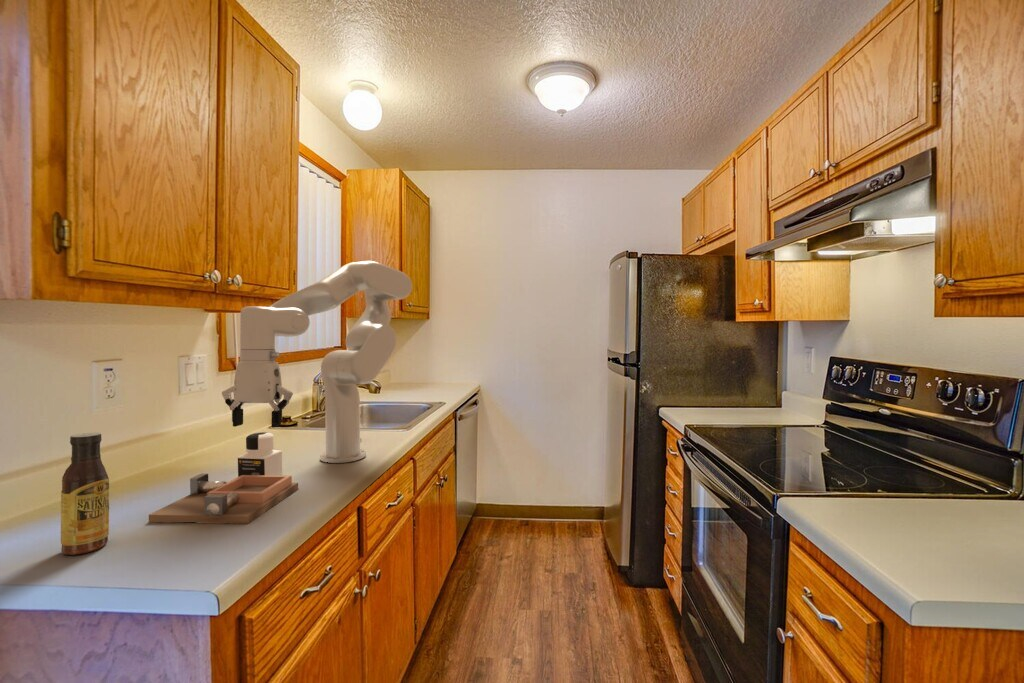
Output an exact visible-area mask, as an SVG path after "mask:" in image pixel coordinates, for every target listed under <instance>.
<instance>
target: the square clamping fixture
mask: <svg viewBox="0 0 1024 683" xmlns="http://www.w3.org/2000/svg"><path fill="white" fill-rule="evenodd" d="M292 480H293V479H292V475H282V476H280V475H241V476H239V477H238V476H237V477H235V478H233V479H231V480H230V481H225V480H223V481H221V480H218V481H215V480H214V481H213V480H209V473H199V474H197V475H195V476H192V477H191V478H189V488H190V490H189V491H190V492H189V493H190V494H188V495H186V496H184V497H182V498H180V499H179V500H176V501H173V502H172V503H169V504H168V505H166V506H164V507H162V508H160V509H157V510H155V511H154V512H152V513H149V514H148V523H156V522H201V523H200V524H224V523H230V524H234V523H236V525H237V524H239V525H240V524H241V525H248V524H250V523H251V522H253V521H254V520H255V518H256V519H257V518H258V517H260V516H262V515H263V514H265V513H266V512H267V511H269V510H270V509H272V508H273V507H274V506H276V505H278V504H279V503H280V502H281V500H282V501H283V500H285V499H286V498H287V497H289V496H290V495H292V494H293V493H294V491H295V490H296V491H297V490H298V489H299V483H298V482H292ZM296 491H295V492H296ZM291 493H292V494H291ZM288 495H289V496H288ZM285 497H286V498H285ZM279 501H280V502H279ZM278 502H279V503H278ZM275 504H276V505H275ZM272 506H273V507H272ZM269 508H270V509H269ZM268 509H269V510H268ZM266 510H267V511H266ZM265 511H266V512H265ZM262 513H263V514H262ZM259 515H260V516H259ZM252 520H253V521H252ZM234 525H235V524H234Z"/></svg>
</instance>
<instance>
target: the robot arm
mask: <svg viewBox="0 0 1024 683" xmlns="http://www.w3.org/2000/svg"><path fill="white" fill-rule="evenodd" d="M412 289H413V284H412V280H411V278H410V277H409V275H407V274H406V273H405V272H403V271H400V270H398V269H397V268H393V267H390V266H388V265H386V264H383V263H381V262H377V261H372V260H364V261H356V262H355V261H353V262H349V263H346V264H344V265H342V266H341V267H339V268H338V269H336V270H334V271H333V272H331V273H329V274H328V275H327V276H325V277H324V278H322V279H320V280H319V281H317V282H315V283H313V284H311V285H308V286H305V287H304V288H301V289H299V290H298V291H295V292H293V293H290V294H287V296H284V297H283V298H280V299H279V300H277V301H275V302H274V303H272V304H271V305H269V306H257V305H253V306H251V305H249V306H244V307H243V308H241V310H240V314H239V316H240V320H239V321H240V322H239V324H240V325H239V326H240V327H239V328H240V329H239V331H240V332H239V334H240V340H239V344H240V345H239V348H240V349H239V362H237V364H236V368H235V372H234V381H233V386H231V387H229V388H227V389H224V390H223V391H221V396H222V397H223V400H224V403H225V404H226V405H227V406H228V407H229V410H230V411H231V422H232V427H238V426H242V425H243V424H244V408H242V407H243V406H244V404H269V405H270V407H271V408H272V409H273V410H272V411H271V423H270V424H271V427H272V428H277V427H280V426H281V425H282V422H283V410H284V409H285V408H286V407H287V405H288V404H289V403H290V401H291V399H292V397H293V395H294V393H293V391H291V390H289V389H287V388H285V387H283V386H282V373H281V369H280V365H279V362H278V361H276V358H280V357H281V356H280V352H278V351H276V347H275V346H276V343H275V342H276V341H275V340H276V337H286V338H287V337H290V338H291V337H299V336H301V335H302V334H304V333H306V332H307V331H308V329H309V327H310V323H311V322H310V317H309V316H312V315H317V314H321V313H325V312H328V311H331V310H333V309H336V308H337V307H339V306H340V305H342V304H343V303H344V302H345V301H348V299H350V298H351V297H353V296H355V295H356V294H357V293H359V292H361V291H363V293H364V297H365V309H364V311H363V313H362V314H361V316H360V317H359V318H358V320H357V321H356V322H355V324H354V325H353V326H352V327H351V328H350V330H349V332H348V333H347V335H346V337H345V346H346V348H347V349H348V350H347V349H338V350H333V351H329V352H328V353H327V354H326V355H325V356H324V357H323V358H322V361H321V363H320V364H321V365H320V371H321V378H322V381H323V386H324V411H325V412H324V414H325V416H324V417H325V418H324V419H325V423H324V424H325V426H324V427H325V452H322V453H321V454H320V455H319V456H320V457H319V460H320V461H321V462H323V463H327V462H328V464H329V463H330V464H343V463H344V464H345V463H350V462H356V461H359V460H361V459H363V458H365V457H366V455H367V453H366V450H365V449H361V443H362V442H363V439H362V438H361V424H360V423H361V417H360V409H361V408H360V407H361V406H360V403H361V402H360V393H359V389H358V386H357V385H367V384H371V382H372V381H374V380H375V379H376V378H377V377H378V375H379V374H380V373H381V370H382V369H383V368H384V367H385V365H386V363H387V362H388V360H389V359H390V357H391V356H392V354H393V352H394V351H395V349H396V344H397V334H396V330H394V328H393V327H392V326H390V323H391V320H392V314H391V309H390V306H389V302H388V301H397V300H398V301H399V300H405V299H406V298H407V297H409V296H410V294H411V293H412ZM232 394H233V396H232Z"/></svg>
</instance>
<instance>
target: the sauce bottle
mask: <svg viewBox="0 0 1024 683" xmlns="http://www.w3.org/2000/svg"><path fill="white" fill-rule="evenodd" d="M69 439H70V440H69V443H70V445H71V458H70V460H71V463H70V464H69V465H68V467H67V468H66V470H65V471H64V473H63V475H62V479H61V489H62V490H61V492H60V496H61V497H60V545H61V553H62V554H63V555H66V556H77V555H82V554H87V553H91V552H94V551H96V550H100V549H101V548H102V547H104V546H105V545H107V544H108V541H109V534H110V478H109V476H108V473H107V471H106V467H105V465H104V464H103V462H102V458H101V457H102V456H101V442H102V433H101V432H85V433H76V434H72V435H70V438H69Z"/></svg>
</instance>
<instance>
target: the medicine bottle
mask: <svg viewBox="0 0 1024 683" xmlns="http://www.w3.org/2000/svg"><path fill="white" fill-rule="evenodd" d="M274 446H275V442H274V434H273V433H271V432H266V431H263V432H255V433H251V434H249V435H247V436H246V438H245V448H246V449H245V450H246V451H245V452H246V453H244V454H242V455H239V456H238V457H237V477H239V476H241V475H280V476H283V452H282V450H281V449H275V447H274Z"/></svg>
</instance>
